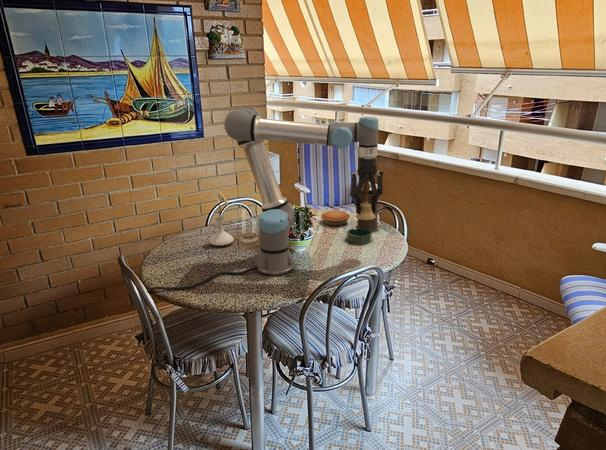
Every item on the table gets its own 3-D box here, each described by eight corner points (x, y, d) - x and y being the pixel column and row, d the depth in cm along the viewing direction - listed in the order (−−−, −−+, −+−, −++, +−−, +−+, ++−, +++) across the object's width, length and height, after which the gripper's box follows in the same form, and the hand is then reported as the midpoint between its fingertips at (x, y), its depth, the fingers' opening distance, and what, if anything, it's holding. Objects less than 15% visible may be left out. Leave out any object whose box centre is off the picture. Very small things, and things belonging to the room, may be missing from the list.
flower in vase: (229, 248, 188) (224, 196, 180) (205, 247, 190) (200, 195, 182) (238, 238, 201) (234, 189, 192) (215, 237, 202) (211, 188, 194)
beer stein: (379, 232, 204) (380, 193, 199) (358, 232, 204) (358, 193, 199) (375, 224, 219) (376, 187, 214) (354, 224, 219) (355, 187, 214)
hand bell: (351, 217, 171) (352, 180, 165) (364, 212, 176) (365, 176, 171) (367, 221, 165) (368, 183, 160) (379, 217, 170) (381, 179, 165)
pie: (335, 215, 231) (335, 207, 229) (355, 222, 219) (356, 213, 218) (315, 221, 221) (315, 213, 220) (335, 229, 210) (335, 219, 208)
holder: (352, 245, 189) (352, 237, 188) (343, 237, 200) (343, 229, 198) (375, 242, 192) (375, 234, 191) (364, 234, 203) (365, 226, 201)
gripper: (348, 160, 156) (347, 217, 164) (393, 157, 161) (390, 212, 169) (341, 157, 163) (340, 212, 171) (385, 154, 168) (382, 207, 176)
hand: (365, 212), depth 170 cm, fingers closed on hand bell, 6 cm apart
